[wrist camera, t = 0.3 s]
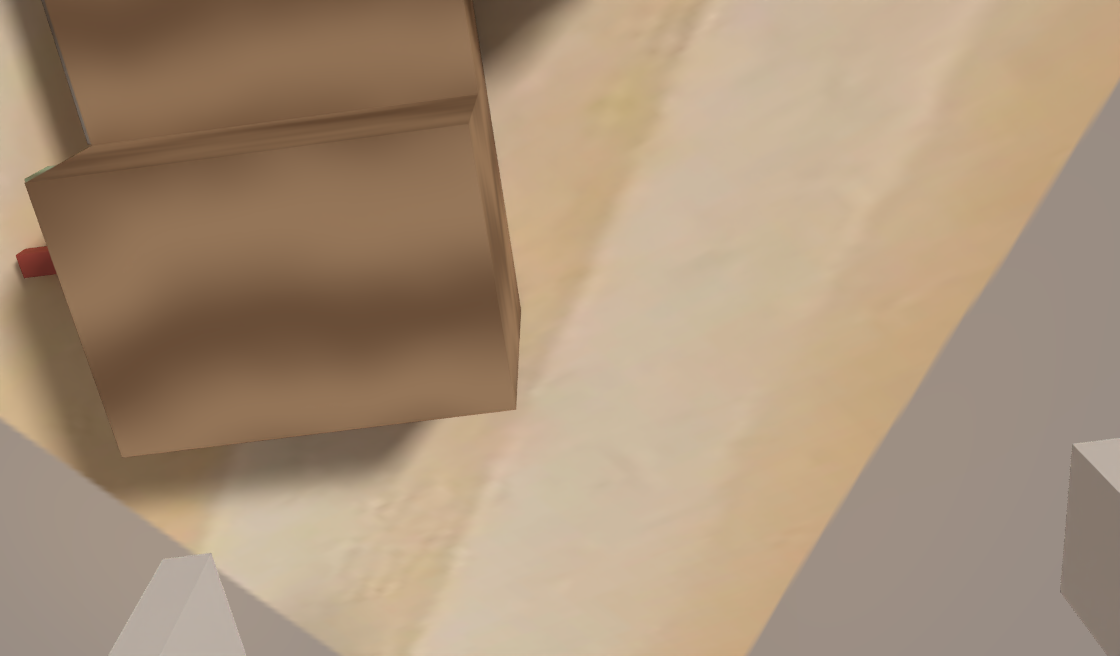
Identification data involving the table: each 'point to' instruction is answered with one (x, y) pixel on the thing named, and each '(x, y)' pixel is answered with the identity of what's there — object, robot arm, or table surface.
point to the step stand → (279, 218)
